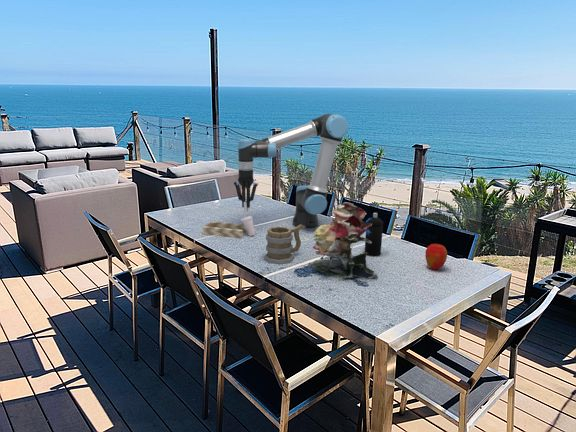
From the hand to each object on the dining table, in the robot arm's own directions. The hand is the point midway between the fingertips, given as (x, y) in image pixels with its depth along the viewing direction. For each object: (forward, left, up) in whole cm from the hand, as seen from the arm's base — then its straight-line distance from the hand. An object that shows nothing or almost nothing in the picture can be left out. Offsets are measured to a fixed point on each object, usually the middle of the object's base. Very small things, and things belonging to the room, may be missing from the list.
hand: (246, 213), depth 232 cm
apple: (-96, +19, -12) cm, 98 cm away
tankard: (-30, +26, -12) cm, 41 cm away
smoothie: (-4, 0, -12) cm, 12 cm away
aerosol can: (-68, +8, -12) cm, 69 cm away
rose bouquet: (-56, +32, -12) cm, 66 cm away
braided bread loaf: (+11, 0, -12) cm, 17 cm away
